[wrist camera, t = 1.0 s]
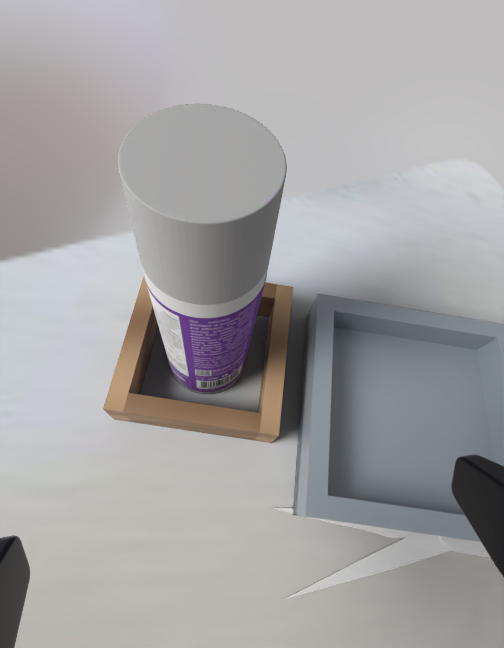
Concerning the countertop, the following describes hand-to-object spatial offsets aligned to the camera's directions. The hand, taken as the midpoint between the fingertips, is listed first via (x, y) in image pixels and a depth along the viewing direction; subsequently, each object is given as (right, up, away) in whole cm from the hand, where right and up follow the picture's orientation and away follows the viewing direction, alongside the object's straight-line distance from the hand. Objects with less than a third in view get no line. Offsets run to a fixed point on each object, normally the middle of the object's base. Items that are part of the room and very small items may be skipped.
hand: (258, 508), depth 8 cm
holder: (-3, +2, +16) cm, 16 cm away
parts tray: (+9, -2, +15) cm, 18 cm away
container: (-3, +2, +16) cm, 16 cm away
